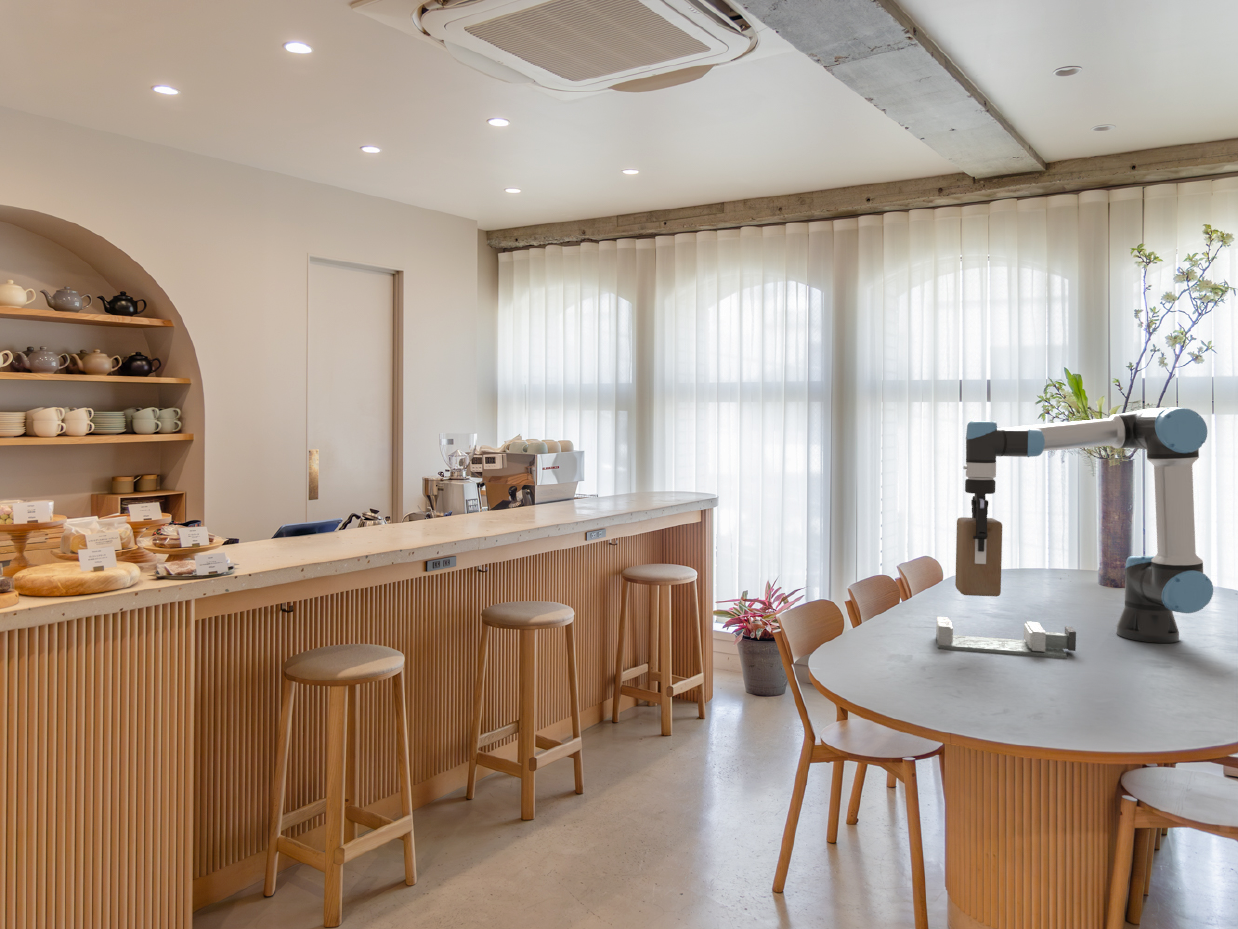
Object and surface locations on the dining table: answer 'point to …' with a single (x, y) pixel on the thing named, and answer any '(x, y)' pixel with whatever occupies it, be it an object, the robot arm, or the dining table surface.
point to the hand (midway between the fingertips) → (978, 560)
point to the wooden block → (968, 573)
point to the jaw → (1048, 638)
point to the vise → (987, 643)
